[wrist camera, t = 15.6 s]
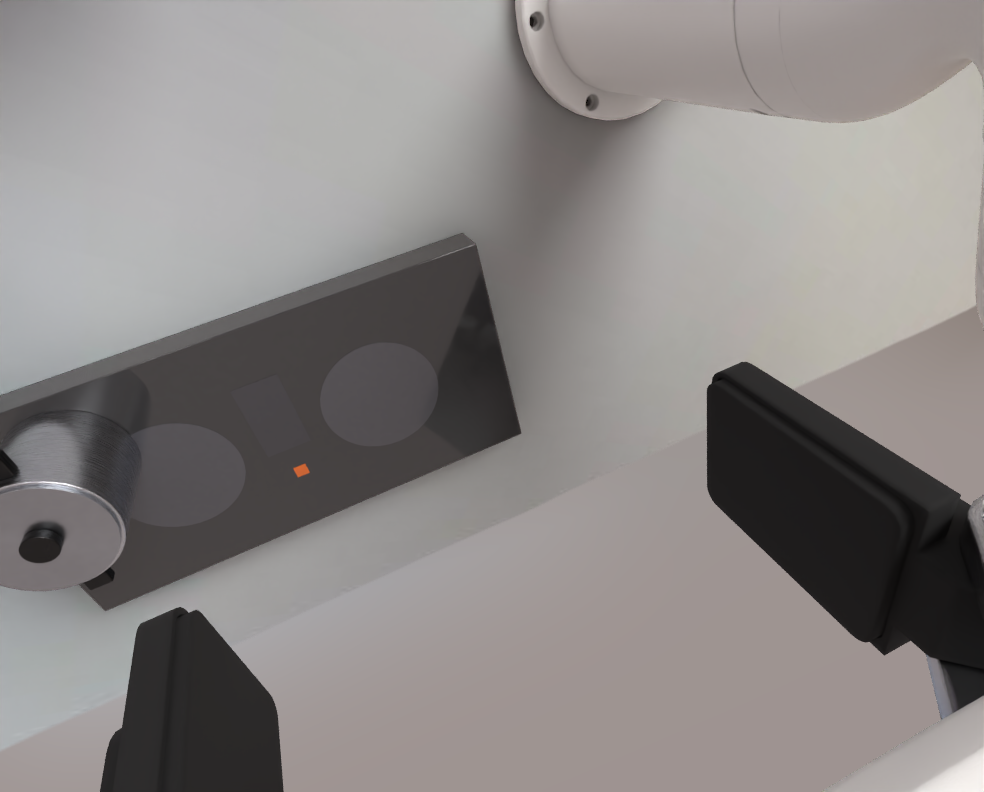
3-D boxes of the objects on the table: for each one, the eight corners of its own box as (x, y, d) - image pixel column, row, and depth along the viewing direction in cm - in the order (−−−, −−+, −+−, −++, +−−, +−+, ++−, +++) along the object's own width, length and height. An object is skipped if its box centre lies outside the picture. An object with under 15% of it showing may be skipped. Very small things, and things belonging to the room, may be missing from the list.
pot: (86, 374, 31) (53, 450, 25) (174, 493, 36) (163, 579, 30) (-50, 422, 30) (-116, 514, 24) (61, 538, 35) (28, 637, 29)
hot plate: (462, 232, 37) (476, 243, 35) (509, 416, 46) (522, 434, 44) (-51, 412, 32) (-70, 438, 30) (110, 583, 41) (104, 612, 38)
